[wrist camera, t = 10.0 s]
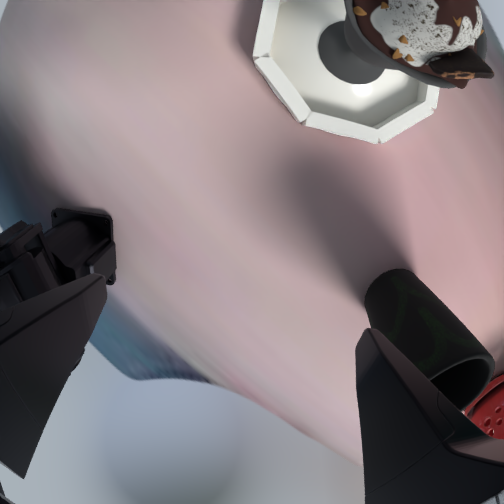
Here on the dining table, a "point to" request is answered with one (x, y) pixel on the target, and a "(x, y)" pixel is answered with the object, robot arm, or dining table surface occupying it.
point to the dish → (332, 77)
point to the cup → (429, 336)
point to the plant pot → (489, 409)
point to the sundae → (407, 42)
